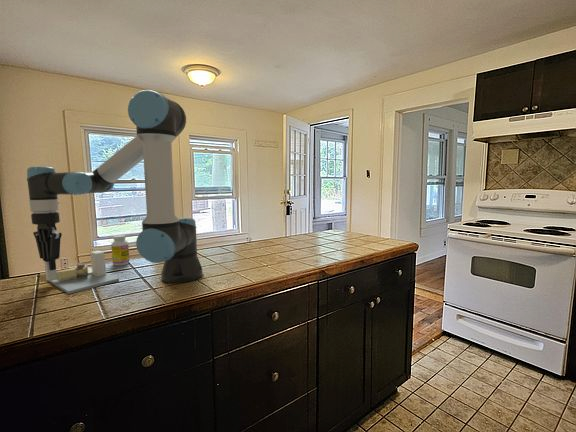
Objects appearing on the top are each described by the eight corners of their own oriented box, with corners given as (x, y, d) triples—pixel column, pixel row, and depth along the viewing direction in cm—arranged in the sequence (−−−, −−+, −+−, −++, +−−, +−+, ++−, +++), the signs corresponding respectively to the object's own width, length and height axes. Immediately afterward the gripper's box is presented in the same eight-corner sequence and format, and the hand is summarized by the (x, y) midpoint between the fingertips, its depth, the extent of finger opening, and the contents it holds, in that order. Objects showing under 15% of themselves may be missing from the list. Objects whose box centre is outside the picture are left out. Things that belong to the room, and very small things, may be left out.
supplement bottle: (122, 266, 131) (120, 237, 129) (109, 265, 132) (106, 237, 130) (133, 262, 137) (131, 234, 136) (120, 261, 139) (118, 234, 137)
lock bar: (87, 272, 116) (87, 265, 115) (88, 275, 112) (87, 268, 112) (41, 279, 107) (40, 272, 107) (40, 282, 104) (39, 275, 104)
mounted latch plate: (119, 280, 112) (117, 254, 111) (68, 294, 99) (65, 264, 98) (90, 268, 128) (88, 245, 127) (44, 278, 115) (41, 253, 114)
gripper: (68, 211, 104) (74, 277, 106) (47, 210, 109) (53, 273, 112) (42, 213, 97) (49, 284, 99) (22, 212, 103) (29, 279, 105)
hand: (51, 278), depth 106 cm, fingers closed
